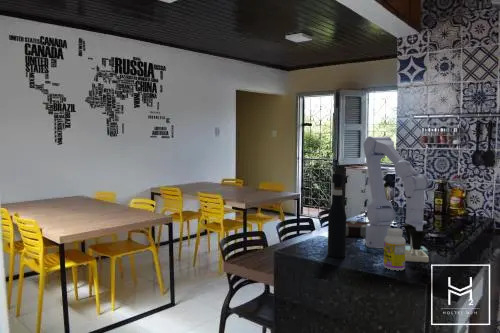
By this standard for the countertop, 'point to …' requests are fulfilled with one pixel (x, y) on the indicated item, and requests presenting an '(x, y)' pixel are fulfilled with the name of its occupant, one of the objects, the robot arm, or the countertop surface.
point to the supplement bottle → (394, 250)
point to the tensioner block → (418, 250)
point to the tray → (416, 257)
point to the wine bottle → (337, 221)
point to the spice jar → (412, 251)
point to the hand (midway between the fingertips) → (413, 246)
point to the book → (356, 228)
